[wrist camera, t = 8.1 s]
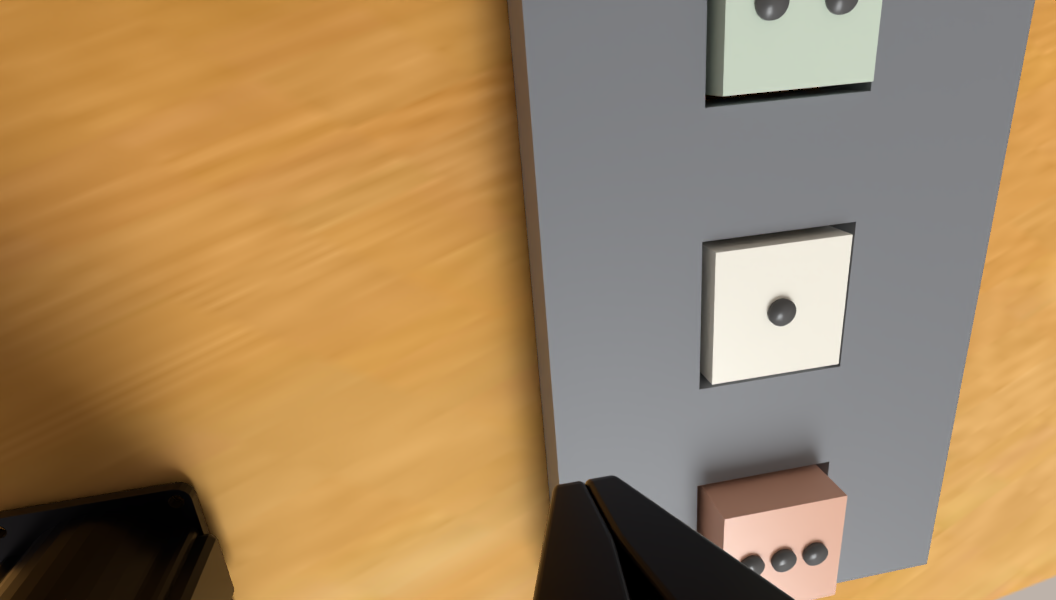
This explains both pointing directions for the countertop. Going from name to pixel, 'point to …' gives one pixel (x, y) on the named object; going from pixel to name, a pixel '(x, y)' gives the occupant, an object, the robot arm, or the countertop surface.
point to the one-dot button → (773, 302)
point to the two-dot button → (789, 44)
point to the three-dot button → (779, 527)
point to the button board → (751, 209)
